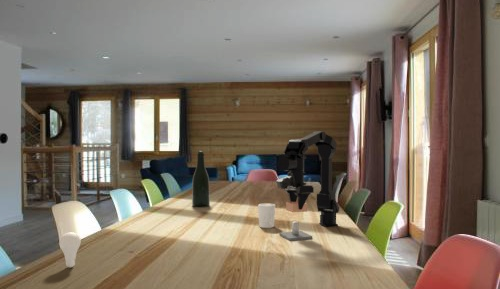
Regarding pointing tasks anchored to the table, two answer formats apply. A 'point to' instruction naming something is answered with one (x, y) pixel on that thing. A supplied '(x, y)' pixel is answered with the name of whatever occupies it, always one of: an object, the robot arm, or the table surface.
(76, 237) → the lightbulb
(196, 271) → the table surface
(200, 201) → the dark green wine bottle
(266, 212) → the white cup
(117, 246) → the table surface
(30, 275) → the table surface
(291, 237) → the post plate
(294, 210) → the ring
